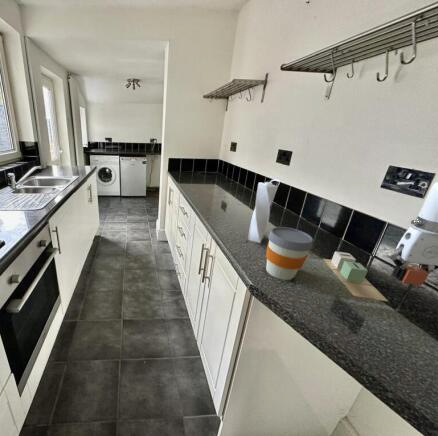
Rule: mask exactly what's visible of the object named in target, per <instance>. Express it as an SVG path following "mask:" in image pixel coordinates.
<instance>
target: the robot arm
mask: <svg viewBox="0 0 438 436" xmlns="http://www.w3.org/2000/svg"><path fill="white" fill-rule="evenodd" d="M410 224H411V225H410V226H409V228H407V230H406V231H405V232H404V234H403V235H402V237H401V238H400V240H399V241H398V244H397V246H396V247H395V249H394V250H392V251H391V252H389V253H387V254H386V257H388V258H389V259H390V260H391V261H392V262H393V264H394V265H395V267H394V269H393V271H392V274H391V276H392V277H394V278H395V279H396V280H397V281H400V282H401V280H402V279H403V277H404V275H405V273H406V271H407V270H406V269H405V268H406V267H407V266H408V265H409V264H416V265H418V264H419V265H420V267H421V268H422V269H424V270H425V271H427V272H428V275H427V277H426V279H425V281H426V280H427V278H428V276H429V275H430V274H432V273H434V271H435V270H438V181H436V182H434V183H433V185H432V186H431V188H430V189H429V192H428V194H427V196H426V198H425V200H424V202H423V204H422V206H421V209H420V211H419V213H418V215H417V217H416V218H415V219H411V221H410ZM425 281H424V282H423V284H424V283H425Z"/></svg>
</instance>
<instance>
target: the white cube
mask: <svg viewBox="0 0 438 436" xmlns="http://www.w3.org/2000/svg"><path fill="white" fill-rule="evenodd" d="M331 260H332V261H331V262H332V263H333V265H334V266H335V267H336V268H338V269H341V268H342V266H343V263H344V261H347V262H354V263H356V261H357V259H356V258H355V257H354V256H353V255H352V254H351V253H349V252H343V251H334V252H333V256H332V258H331Z"/></svg>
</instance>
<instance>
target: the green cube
mask: <svg viewBox="0 0 438 436" xmlns="http://www.w3.org/2000/svg"><path fill="white" fill-rule="evenodd" d="M368 272H369V270H368V269H367V268H366V267H365V266H364V265H363V264H362V263H360V262H355V263H354V262H347V261H344V263H343V266H342V268H341V271H340V273H341V274H342V275H343V276H344V277H345V278H346V279H347V280H352V281H358V282H363V280H364V278H365V279H366V276H367V274H368Z"/></svg>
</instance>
